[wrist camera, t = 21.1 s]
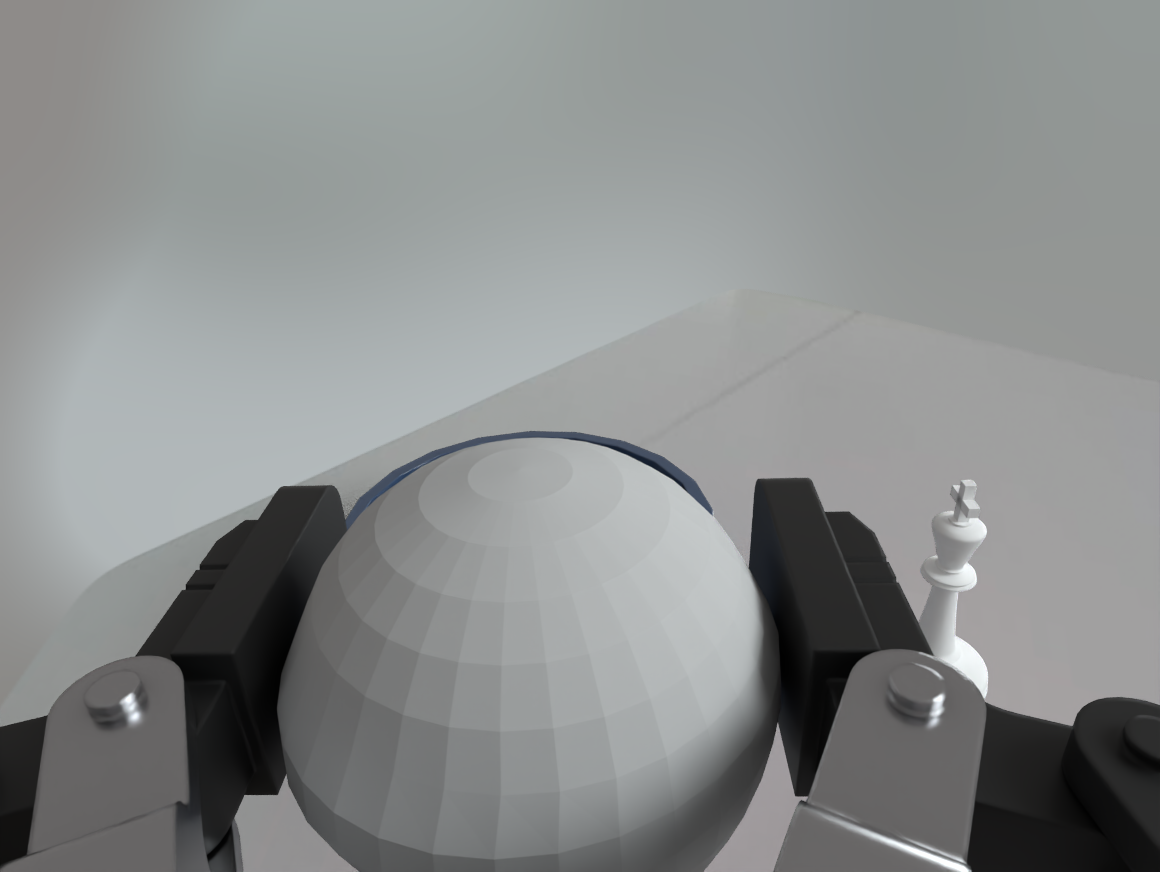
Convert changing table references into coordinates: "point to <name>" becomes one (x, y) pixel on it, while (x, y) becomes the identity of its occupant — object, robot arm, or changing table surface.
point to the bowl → (617, 445)
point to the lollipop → (531, 671)
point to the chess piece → (953, 582)
